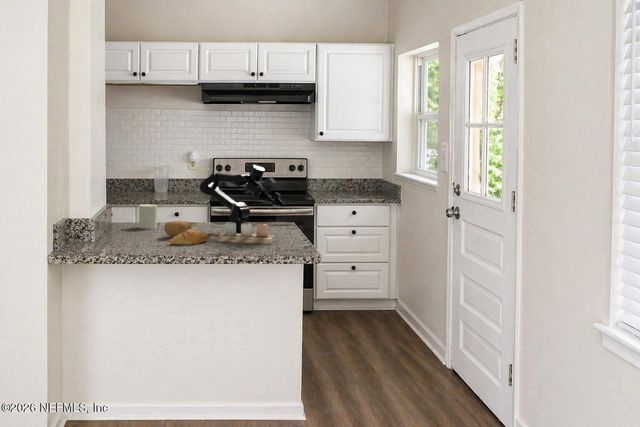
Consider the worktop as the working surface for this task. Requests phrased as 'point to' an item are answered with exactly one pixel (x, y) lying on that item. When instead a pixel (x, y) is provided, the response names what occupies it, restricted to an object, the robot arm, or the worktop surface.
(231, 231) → the key one
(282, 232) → the worktop surface
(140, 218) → the can
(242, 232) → the key two
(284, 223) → the worktop surface
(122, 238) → the worktop surface
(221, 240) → the board
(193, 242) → the croissant
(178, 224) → the potato
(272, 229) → the worktop surface
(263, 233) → the key three
